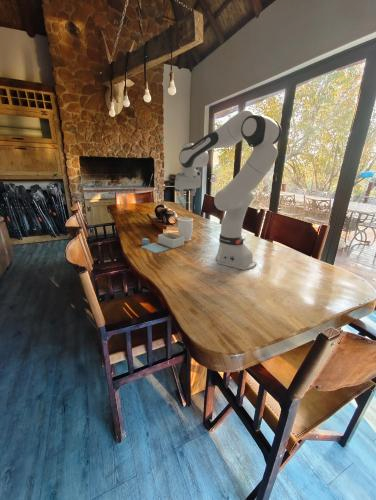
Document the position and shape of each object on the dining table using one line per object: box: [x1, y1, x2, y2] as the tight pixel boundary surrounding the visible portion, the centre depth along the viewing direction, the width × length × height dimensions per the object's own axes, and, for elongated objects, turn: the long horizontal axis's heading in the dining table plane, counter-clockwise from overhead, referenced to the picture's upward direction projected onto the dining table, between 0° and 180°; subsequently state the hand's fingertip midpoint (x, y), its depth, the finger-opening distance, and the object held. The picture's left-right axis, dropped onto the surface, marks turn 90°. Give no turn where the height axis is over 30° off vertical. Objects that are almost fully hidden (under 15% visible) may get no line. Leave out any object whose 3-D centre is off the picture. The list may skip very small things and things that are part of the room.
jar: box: [177, 216, 194, 242], centre depth 162 cm, size 11×10×15 cm
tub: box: [157, 231, 185, 249], centre depth 153 cm, size 14×10×6 cm
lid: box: [140, 237, 170, 254], centre depth 146 cm, size 19×11×4 cm, turn 46°
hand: (188, 196), depth 147 cm, fingers open, 8 cm apart
